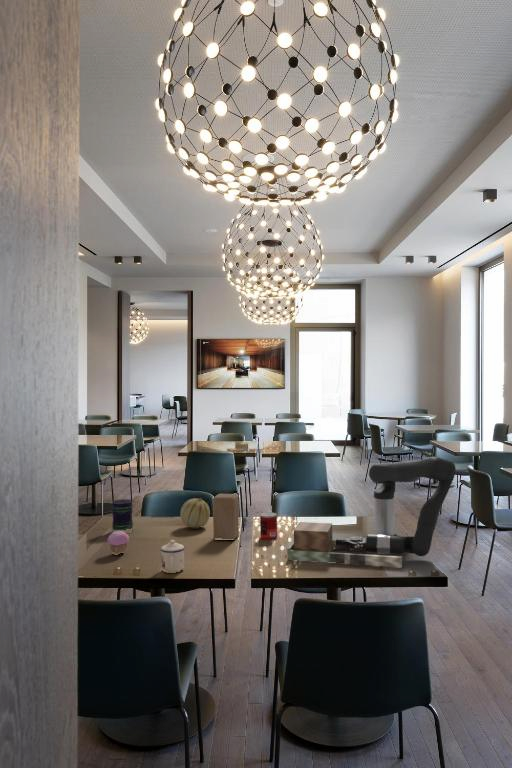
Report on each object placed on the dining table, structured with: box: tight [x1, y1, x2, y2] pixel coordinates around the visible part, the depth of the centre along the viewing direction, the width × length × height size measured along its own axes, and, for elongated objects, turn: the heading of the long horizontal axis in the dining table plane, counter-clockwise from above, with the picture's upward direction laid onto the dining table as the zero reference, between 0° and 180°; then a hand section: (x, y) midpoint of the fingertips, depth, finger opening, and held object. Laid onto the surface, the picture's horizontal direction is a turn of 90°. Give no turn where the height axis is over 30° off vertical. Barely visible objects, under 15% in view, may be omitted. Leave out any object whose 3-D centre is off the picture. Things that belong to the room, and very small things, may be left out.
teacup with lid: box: [160, 539, 185, 570], centre depth 232 cm, size 12×9×12 cm
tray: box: [286, 539, 403, 569], centre depth 247 cm, size 45×20×5 cm, turn 75°
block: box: [212, 493, 240, 540], centre depth 278 cm, size 10×10×20 cm
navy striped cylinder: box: [111, 499, 134, 530], centre depth 294 cm, size 10×10×15 cm
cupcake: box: [107, 531, 130, 553], centre depth 256 cm, size 9×9×10 cm
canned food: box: [259, 512, 278, 541], centre depth 278 cm, size 8×8×11 cm
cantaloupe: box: [180, 497, 211, 528], centre depth 299 cm, size 15×15×15 cm
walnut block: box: [293, 521, 334, 553], centre depth 250 cm, size 14×14×12 cm
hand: (336, 541), depth 248 cm, fingers closed
